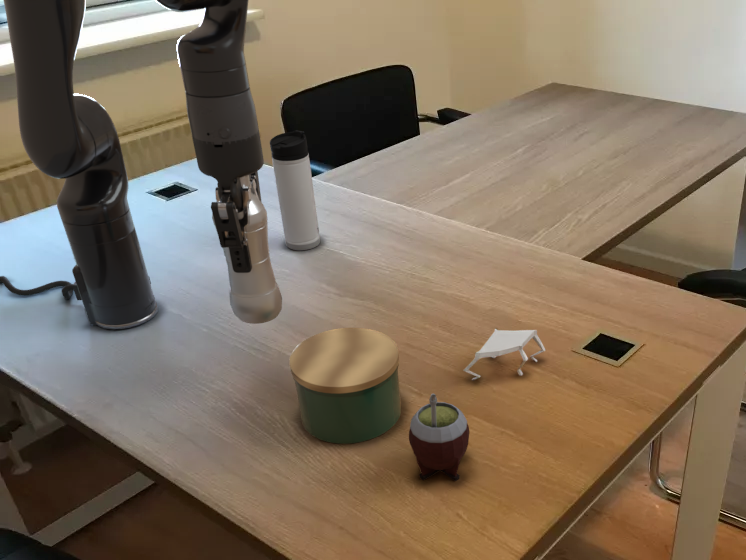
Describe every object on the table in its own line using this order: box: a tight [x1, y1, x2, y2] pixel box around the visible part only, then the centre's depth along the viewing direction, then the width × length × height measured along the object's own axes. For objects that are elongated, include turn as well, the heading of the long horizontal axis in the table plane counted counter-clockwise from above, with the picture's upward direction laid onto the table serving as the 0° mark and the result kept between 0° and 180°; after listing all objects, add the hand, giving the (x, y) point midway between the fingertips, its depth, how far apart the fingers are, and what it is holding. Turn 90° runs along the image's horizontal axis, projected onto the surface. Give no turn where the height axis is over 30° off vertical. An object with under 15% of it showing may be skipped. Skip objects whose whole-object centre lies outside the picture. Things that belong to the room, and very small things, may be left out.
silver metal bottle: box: [211, 175, 283, 325], centre depth 102 cm, size 6×7×20 cm
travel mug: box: [269, 129, 321, 251], centre depth 143 cm, size 6×7×20 cm
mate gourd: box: [408, 393, 470, 482], centre depth 93 cm, size 8×8×15 cm
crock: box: [288, 327, 402, 445], centre depth 104 cm, size 14×14×9 cm
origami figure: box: [462, 328, 546, 381], centre depth 113 cm, size 12×8×5 cm
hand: (248, 259), depth 103 cm, fingers closed on silver metal bottle, 6 cm apart
